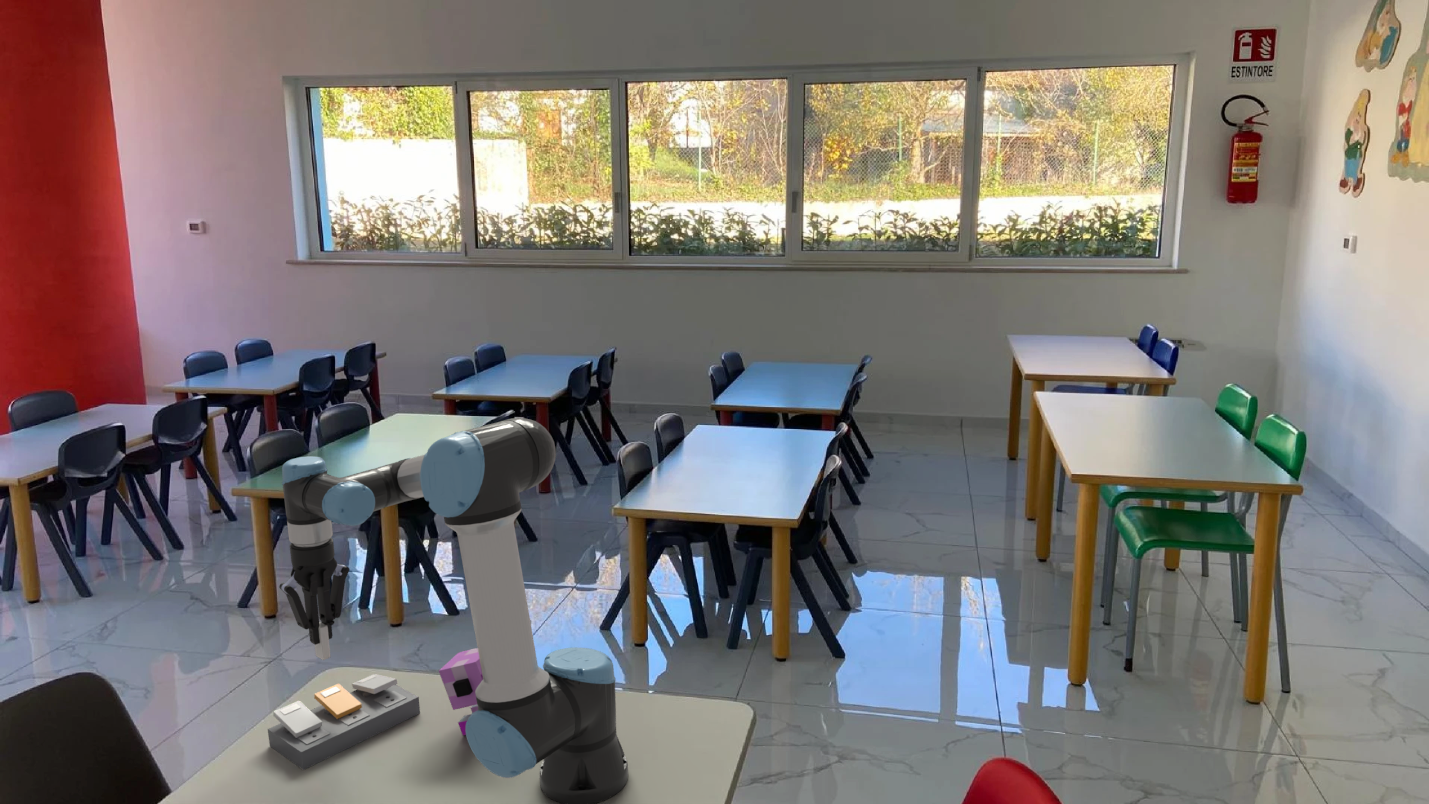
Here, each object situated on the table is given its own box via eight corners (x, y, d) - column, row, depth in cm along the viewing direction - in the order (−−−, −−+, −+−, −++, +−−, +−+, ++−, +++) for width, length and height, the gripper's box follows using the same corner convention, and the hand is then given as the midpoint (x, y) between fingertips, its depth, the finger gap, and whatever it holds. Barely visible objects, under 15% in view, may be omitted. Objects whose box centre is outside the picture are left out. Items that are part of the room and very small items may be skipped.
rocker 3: (397, 683, 192) (396, 678, 192) (374, 694, 188) (373, 688, 188) (375, 678, 197) (374, 673, 197) (352, 688, 193) (351, 683, 193)
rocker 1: (322, 726, 180) (322, 721, 179) (296, 737, 176) (296, 732, 176) (299, 704, 184) (299, 699, 184) (273, 715, 181) (273, 710, 180)
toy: (500, 739, 180) (472, 665, 178) (462, 747, 182) (435, 674, 180) (523, 711, 190) (497, 640, 188) (487, 719, 192) (461, 649, 190)
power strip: (420, 713, 191) (418, 693, 190) (303, 769, 173) (300, 748, 172) (385, 693, 198) (383, 674, 198) (269, 746, 180) (267, 725, 179)
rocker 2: (361, 708, 186) (361, 703, 185) (337, 719, 182) (337, 714, 182) (338, 687, 190) (338, 682, 190) (314, 698, 187) (314, 693, 186)
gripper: (333, 525, 188) (343, 638, 194) (266, 545, 179) (280, 663, 184) (354, 534, 184) (365, 649, 189) (287, 555, 174) (300, 676, 179)
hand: (323, 656), depth 187 cm, fingers closed
